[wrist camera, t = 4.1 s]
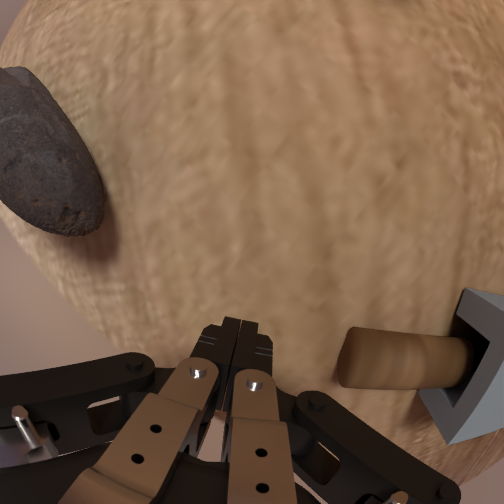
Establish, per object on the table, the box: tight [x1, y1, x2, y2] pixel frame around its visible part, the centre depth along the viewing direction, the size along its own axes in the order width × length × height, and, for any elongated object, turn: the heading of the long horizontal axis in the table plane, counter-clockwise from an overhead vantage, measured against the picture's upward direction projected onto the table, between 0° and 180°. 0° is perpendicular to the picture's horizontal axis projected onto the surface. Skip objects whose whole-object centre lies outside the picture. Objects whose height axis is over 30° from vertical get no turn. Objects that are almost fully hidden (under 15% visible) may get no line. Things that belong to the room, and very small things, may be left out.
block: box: [418, 288, 504, 445], centre depth 11 cm, size 7×8×5 cm
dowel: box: [338, 327, 474, 390], centre depth 12 cm, size 8×3×3 cm, turn 80°
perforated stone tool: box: [0, 66, 104, 237], centre depth 9 cm, size 15×5×7 cm, turn 43°
